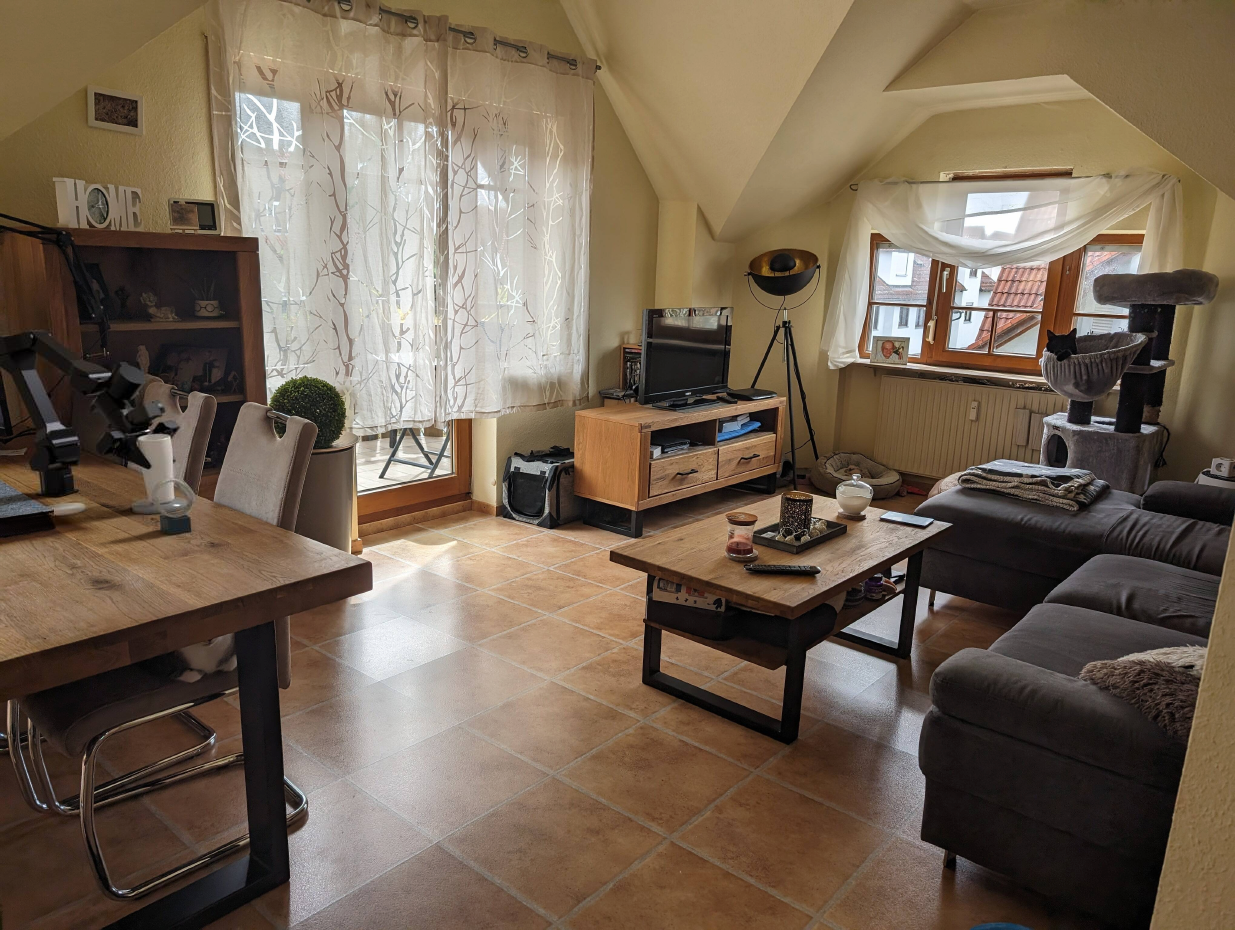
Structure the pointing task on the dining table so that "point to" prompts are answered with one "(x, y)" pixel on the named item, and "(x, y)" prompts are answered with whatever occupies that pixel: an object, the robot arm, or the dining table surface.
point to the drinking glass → (158, 465)
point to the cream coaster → (67, 508)
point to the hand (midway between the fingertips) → (162, 465)
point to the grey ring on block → (179, 520)
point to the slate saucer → (150, 508)
